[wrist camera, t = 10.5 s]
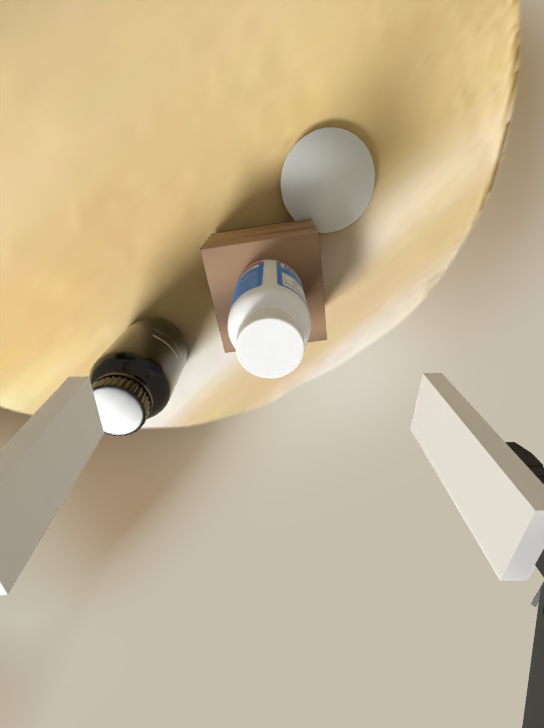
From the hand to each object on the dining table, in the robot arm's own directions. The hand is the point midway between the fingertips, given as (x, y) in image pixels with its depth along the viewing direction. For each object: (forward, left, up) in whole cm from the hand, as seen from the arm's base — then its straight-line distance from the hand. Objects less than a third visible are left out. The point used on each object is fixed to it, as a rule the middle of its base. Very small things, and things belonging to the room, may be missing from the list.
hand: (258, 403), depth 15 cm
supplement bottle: (+8, -11, -23) cm, 27 cm away
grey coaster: (-8, +6, -23) cm, 25 cm away
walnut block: (0, +1, -22) cm, 22 cm away
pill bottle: (0, +1, -16) cm, 16 cm away
